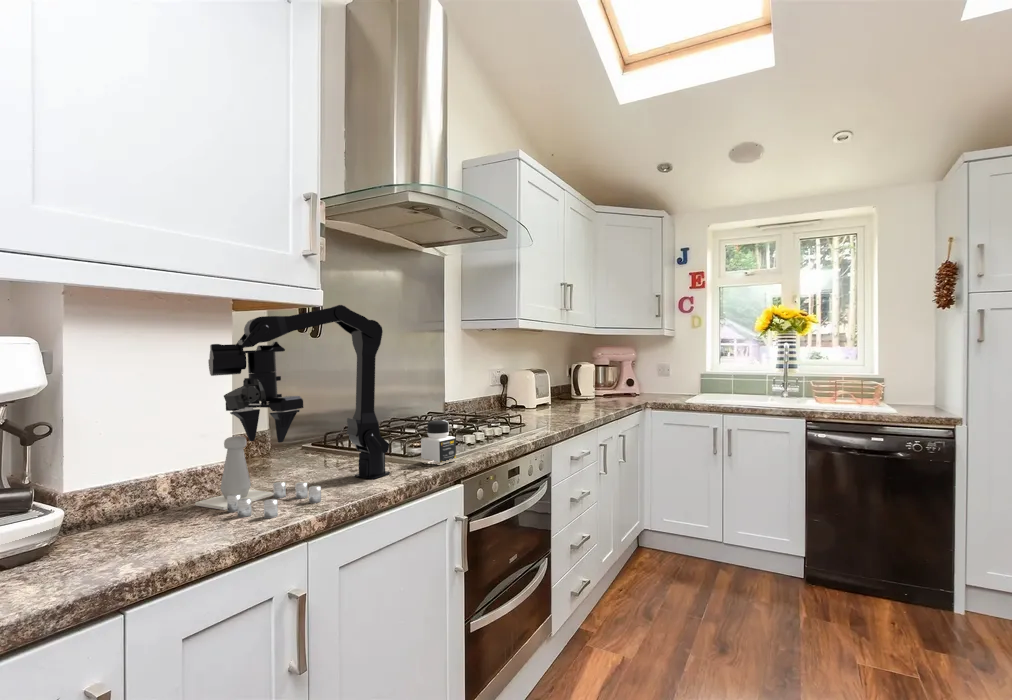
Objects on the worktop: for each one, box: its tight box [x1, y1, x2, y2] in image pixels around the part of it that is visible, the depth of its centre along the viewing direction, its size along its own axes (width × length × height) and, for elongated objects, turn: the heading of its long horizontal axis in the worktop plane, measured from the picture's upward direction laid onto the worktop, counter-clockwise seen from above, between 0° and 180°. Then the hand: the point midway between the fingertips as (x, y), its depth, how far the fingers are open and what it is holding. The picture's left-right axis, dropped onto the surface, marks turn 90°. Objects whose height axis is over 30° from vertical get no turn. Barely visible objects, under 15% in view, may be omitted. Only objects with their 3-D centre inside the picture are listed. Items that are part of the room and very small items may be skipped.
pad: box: [194, 488, 274, 511], centre depth 111 cm, size 12×9×1 cm
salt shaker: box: [219, 435, 252, 499], centre depth 111 cm, size 6×6×13 cm
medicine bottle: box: [420, 419, 457, 462], centre depth 147 cm, size 7×7×12 cm
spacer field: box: [226, 481, 322, 519], centre depth 106 cm, size 16×13×3 cm
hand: (266, 441), depth 116 cm, fingers open, 9 cm apart
